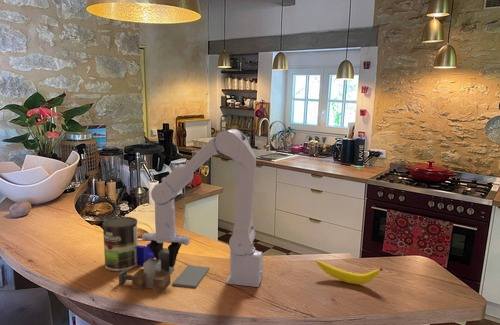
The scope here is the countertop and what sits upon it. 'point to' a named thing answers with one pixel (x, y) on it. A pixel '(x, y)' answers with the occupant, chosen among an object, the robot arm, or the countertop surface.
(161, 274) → the vise
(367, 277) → the banana
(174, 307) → the countertop surface
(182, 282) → the pad
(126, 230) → the coffee can
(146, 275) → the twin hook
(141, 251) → the blue cradle bracket
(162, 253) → the gray stepped bracket
